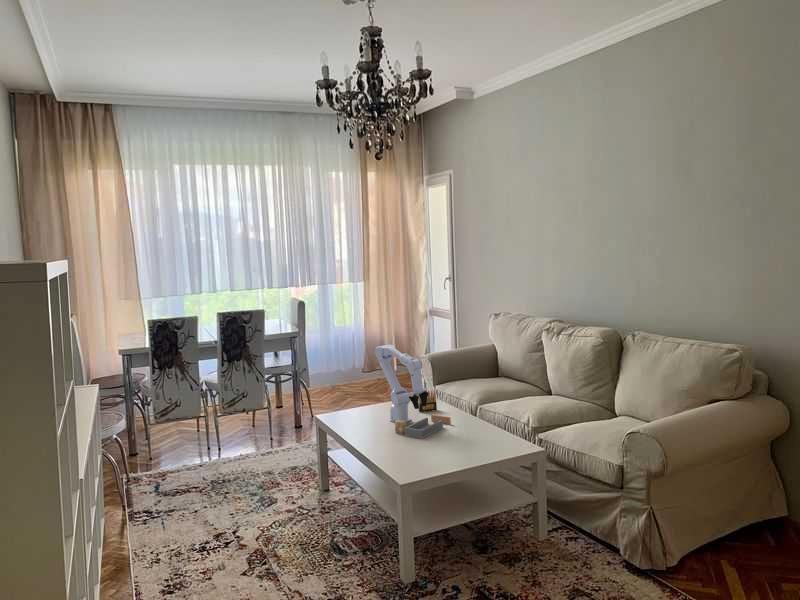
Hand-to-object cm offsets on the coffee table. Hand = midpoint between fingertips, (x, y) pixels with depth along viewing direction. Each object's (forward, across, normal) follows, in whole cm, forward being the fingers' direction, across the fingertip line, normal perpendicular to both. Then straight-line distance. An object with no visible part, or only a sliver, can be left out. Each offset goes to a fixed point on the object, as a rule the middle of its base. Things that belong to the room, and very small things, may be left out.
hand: (420, 407), depth 330 cm
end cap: (+11, +12, -4) cm, 16 cm away
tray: (+12, -5, -4) cm, 13 cm away
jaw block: (+10, -13, +6) cm, 17 cm away
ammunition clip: (+7, +28, +15) cm, 33 cm away
